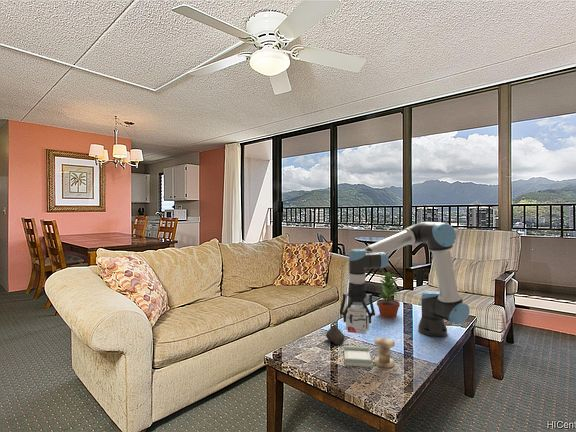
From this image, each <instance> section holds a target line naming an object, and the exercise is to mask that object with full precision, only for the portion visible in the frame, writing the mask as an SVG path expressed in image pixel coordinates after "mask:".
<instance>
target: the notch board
mask: <svg viewBox="0 0 576 432" xmlns="http://www.w3.org/2000/svg"><path fill="white" fill-rule="evenodd" d="M343 355H344V365H345V366H351V367H352V366H353V367H366V368H367V367H368V368H373V359H372V358H371V354H370V347H369V346H355V345H353V346H352V345H344V346H343Z"/></svg>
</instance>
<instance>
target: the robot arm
mask: <svg viewBox="0 0 576 432" xmlns="http://www.w3.org/2000/svg"><path fill="white" fill-rule="evenodd" d="M456 239H457V233H456V230H455V228H454V227H453V226H452V225H451V224H449V223H444V222H440V221H439V222H437V221H436V222H435V221H422V222H421V221H420V222H418V223H415V224H412V225H410V226H408V227H405V228H404V229H402V231H401V232H398V233H395V234H393V235H391V236H389V237H386V238H384V239H382V240H380V241H377V242H374V243H372V244H370V245H367V246H364V247H361V248H354V249H353V248H351V250H349V254H348V271H349V272H348V282H349V283H348V292H346V293H345V292H342V300H341V304H340V309H339V315H342V316H343V323H345V330H346V331H348V308H350V307H351V305H354V304H353V303H361V304H362V306H364V308H366V312H367V331H366V332H369V330H370V324H371V323H372V317H373V316H376V312H375V307H374V303H373V295H372V293H366V270H372V269H382V268H386V267H387V266H388V265H389V256H388V254H389V253H391V252H394V251H395V250H399V249H401V248H403V247H406V246H408V245H410V246H412V245H414V244H415V245H416V244H426V245H427V248H428V251H430V253H432V254H431V255H432V258H433V263H434V269H435V275H436V280H437V284H438V290H439V291H438V290H427V291H424V292H422V293H421V303H420V304H421V318H420V321H419V323H418V326H417V327H418V328H417V329H418V332H419V333H421V334H422V335H425V336H428V337H436V338H437V337H438V338H443V337H445V336H447V335H448V328H447V325H446V322H445V321H447V322H449V323H451V324H454V325H462V324H464V323H465V322H466V321H467V320H468V318H469V316H470V311H471V310H470V307H469V305H468V304H467V303H466V302H464V300H463V296H462V294H460V293H459V292H458V285H457V281H456V280H457V279H456V275H455V271H454V269H455V268H454V263H453V259H452V258H453V257H452V253H451V250H452V249H453V248H454V244H455V242H456ZM348 297H349V302H348V303H347V305H346V307H345V304H346V299H347V298H348ZM365 298H367V299H368V301H369V306H370V310H371V311H370V310H369V308H368V305H367V303H366V301H365ZM344 308H345V309H344Z"/></svg>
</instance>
